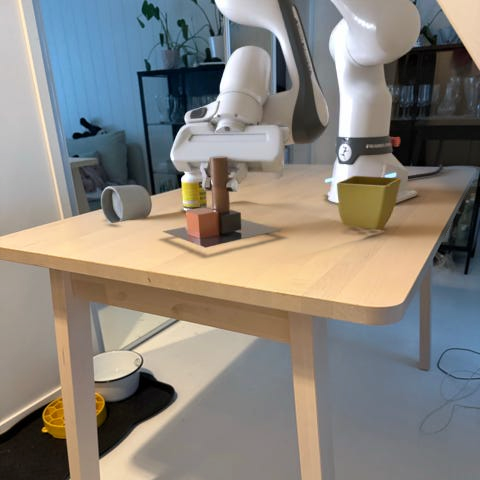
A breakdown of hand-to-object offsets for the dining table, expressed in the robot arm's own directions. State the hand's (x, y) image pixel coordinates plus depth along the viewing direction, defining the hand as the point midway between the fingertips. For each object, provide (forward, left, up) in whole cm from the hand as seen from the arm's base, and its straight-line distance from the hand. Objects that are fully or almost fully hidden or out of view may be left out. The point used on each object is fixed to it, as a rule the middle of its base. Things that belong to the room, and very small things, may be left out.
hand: (218, 189), depth 78 cm
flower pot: (-22, +14, -9) cm, 28 cm away
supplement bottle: (-10, -25, -9) cm, 29 cm away
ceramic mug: (+7, -26, -9) cm, 29 cm away
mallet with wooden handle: (-1, 0, -7) cm, 7 cm away
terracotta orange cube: (+3, 0, -7) cm, 8 cm away
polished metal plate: (0, 0, -9) cm, 9 cm away
